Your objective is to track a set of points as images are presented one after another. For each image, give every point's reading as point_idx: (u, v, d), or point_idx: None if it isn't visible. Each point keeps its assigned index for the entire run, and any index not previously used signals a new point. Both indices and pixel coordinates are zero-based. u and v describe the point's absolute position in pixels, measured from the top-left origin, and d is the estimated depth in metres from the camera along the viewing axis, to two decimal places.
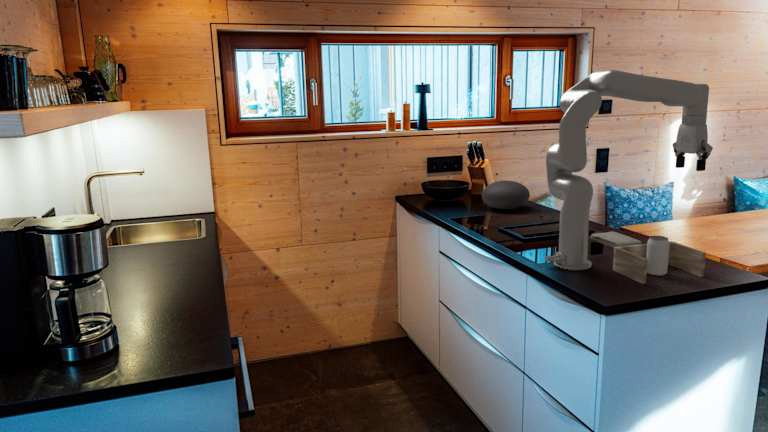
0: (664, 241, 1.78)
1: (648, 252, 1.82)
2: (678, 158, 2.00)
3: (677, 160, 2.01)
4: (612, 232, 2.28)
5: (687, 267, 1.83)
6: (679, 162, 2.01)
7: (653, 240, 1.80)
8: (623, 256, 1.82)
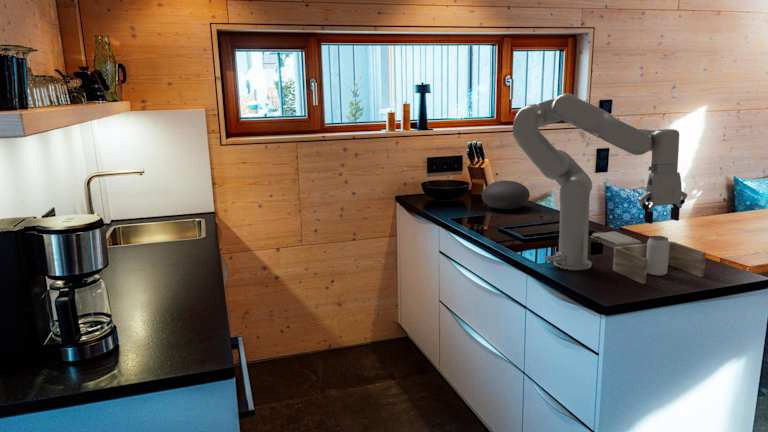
0: (664, 241, 1.78)
1: (648, 252, 1.82)
2: None
3: (652, 215, 1.77)
4: (613, 232, 2.28)
5: (687, 267, 1.83)
6: None
7: (653, 240, 1.80)
8: (623, 256, 1.82)
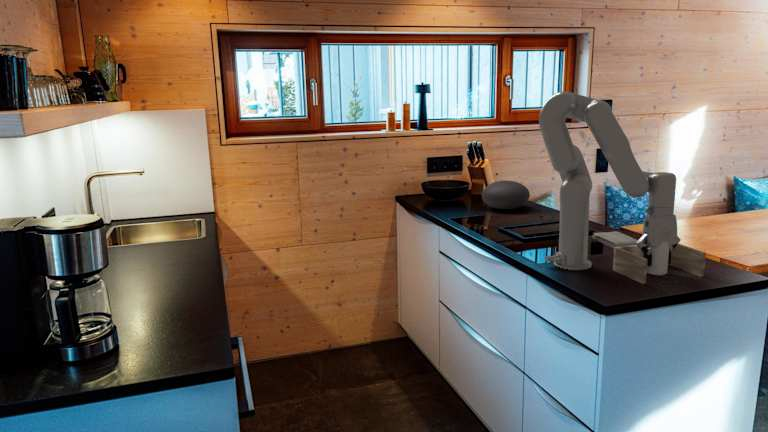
0: None
1: None
2: None
3: None
4: (615, 232, 2.28)
5: (687, 267, 1.83)
6: None
7: None
8: (623, 256, 1.82)
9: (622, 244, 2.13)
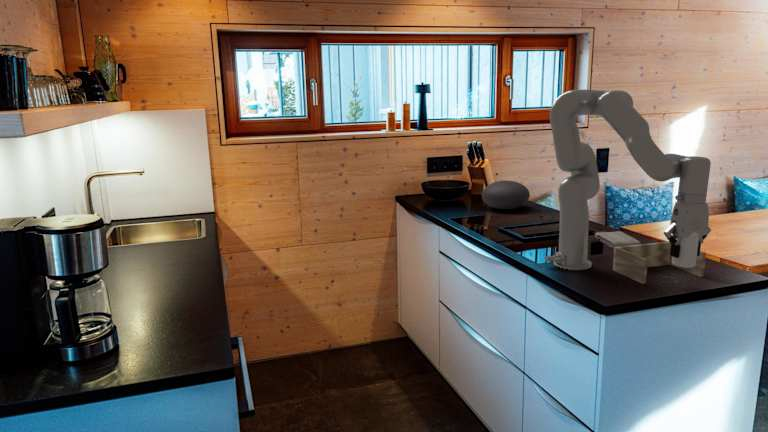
0: None
1: None
2: None
3: (679, 249, 1.67)
4: (618, 232, 2.28)
5: None
6: None
7: None
8: (623, 256, 1.82)
9: (620, 244, 2.14)
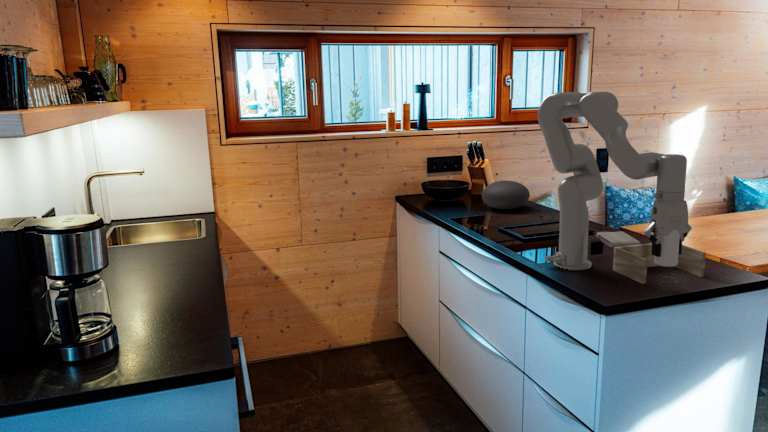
0: None
1: None
2: None
3: (660, 248, 1.66)
4: (619, 232, 2.28)
5: (687, 267, 1.83)
6: None
7: None
8: (623, 256, 1.82)
9: (619, 244, 2.14)
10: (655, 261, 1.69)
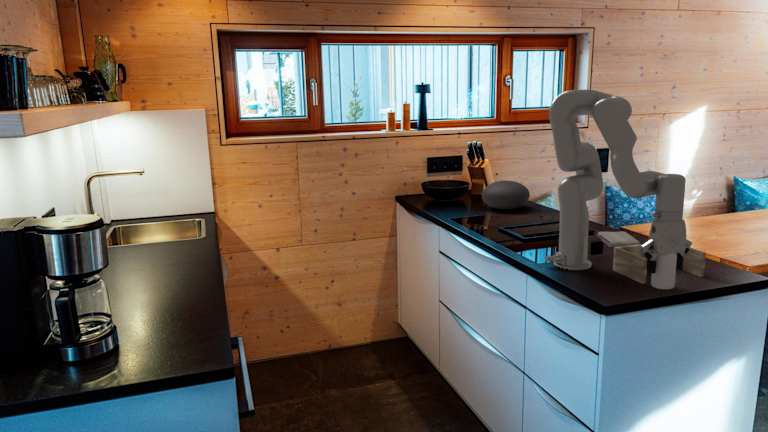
0: (671, 253, 1.66)
1: None
2: None
3: (655, 264, 1.67)
4: (621, 232, 2.28)
5: (687, 267, 1.83)
6: None
7: None
8: (623, 256, 1.82)
9: (619, 244, 2.14)
10: (652, 284, 1.70)
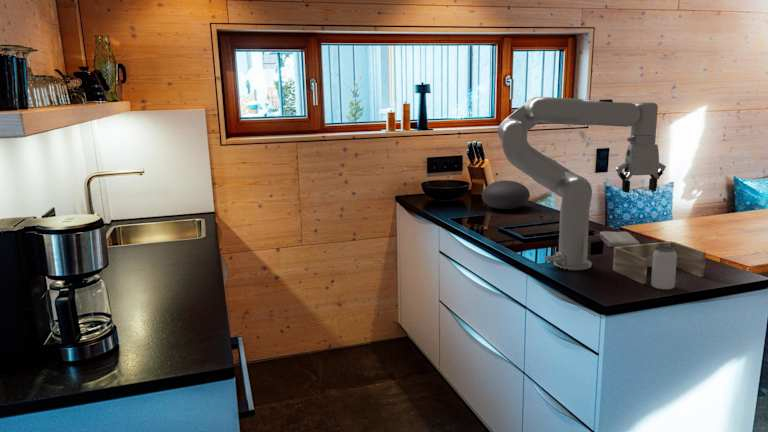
0: (671, 253, 1.66)
1: (654, 264, 1.69)
2: None
3: (629, 184, 1.85)
4: (623, 232, 2.27)
5: (687, 267, 1.83)
6: None
7: (659, 252, 1.67)
8: (623, 256, 1.82)
9: (618, 243, 2.14)
10: (652, 283, 1.70)
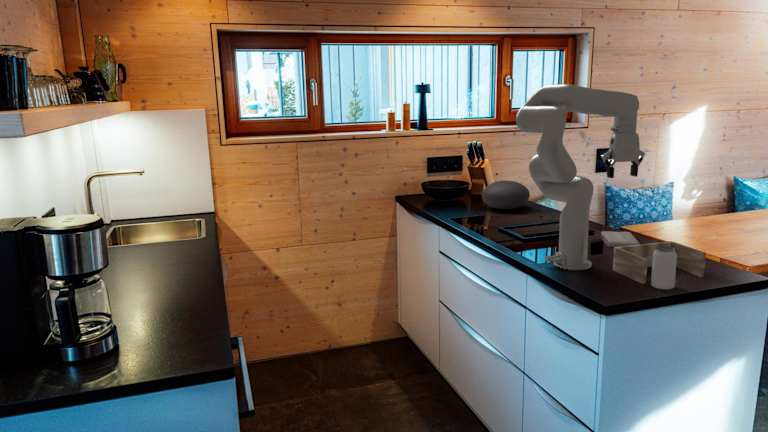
0: (671, 253, 1.66)
1: (654, 264, 1.69)
2: None
3: (613, 171, 2.00)
4: (625, 232, 2.27)
5: (687, 267, 1.83)
6: None
7: (659, 252, 1.67)
8: (623, 256, 1.82)
9: (617, 243, 2.15)
10: (652, 284, 1.70)
